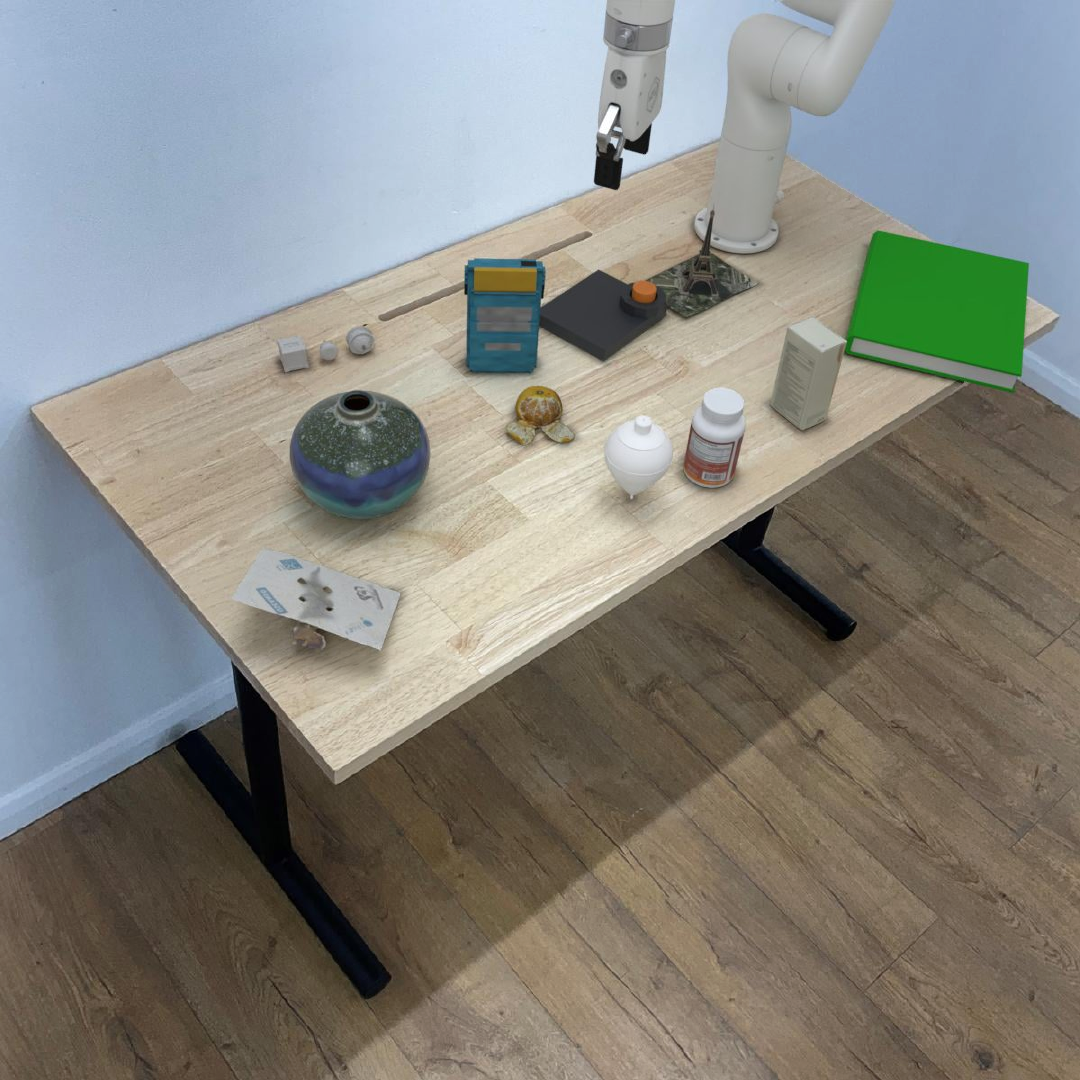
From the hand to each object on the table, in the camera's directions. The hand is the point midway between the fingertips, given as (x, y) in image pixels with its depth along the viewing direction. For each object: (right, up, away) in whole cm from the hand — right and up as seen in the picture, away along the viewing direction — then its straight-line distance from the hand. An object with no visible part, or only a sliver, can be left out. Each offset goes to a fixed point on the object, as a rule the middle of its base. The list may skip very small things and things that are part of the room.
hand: (621, 168), depth 144 cm
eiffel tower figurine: (+12, -10, +22) cm, 27 cm away
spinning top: (+1, -41, -8) cm, 42 cm away
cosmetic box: (+22, -30, +4) cm, 37 cm away
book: (+46, -14, +20) cm, 52 cm away
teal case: (-15, -23, +7) cm, 29 cm away
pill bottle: (+10, -38, -4) cm, 39 cm away
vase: (-30, -40, -10) cm, 51 cm away
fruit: (-11, -32, 0) cm, 34 cm away
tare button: (+4, -13, +14) cm, 19 cm away
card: (-35, -55, -25) cm, 70 cm away
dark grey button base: (-2, -16, +15) cm, 22 cm away
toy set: (-36, -22, +4) cm, 43 cm away
